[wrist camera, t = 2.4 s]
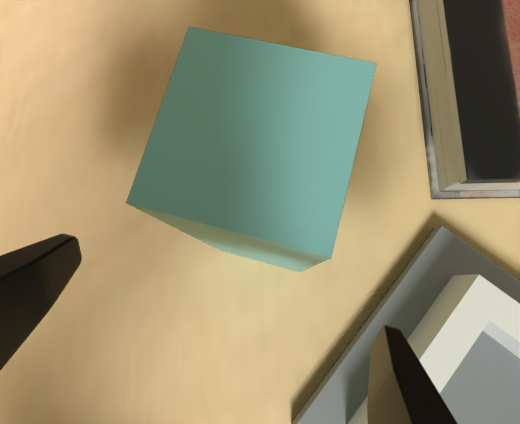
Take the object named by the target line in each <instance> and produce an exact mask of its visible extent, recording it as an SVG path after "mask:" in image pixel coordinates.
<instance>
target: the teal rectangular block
mask: <svg viewBox="0 0 520 424" xmlns="http://www.w3.org/2000/svg"><path fill="white" fill-rule="evenodd" d="M375 68H376V63H371V62H366V61H361V60H356V59H351V58H346V57H341V56H336V55H331V54H326V53H321V52H316V51H311V50H306V49H300V48H295V47H290V46H285V45H280V44H275V43H270V42H265V41H260V40H255V39H250V38H245V37H240V36H235V35H230V34H225V33H220V32H215V31H210V30H205V29H200V28H194V27H189V28H188V31H187V34H186V36H185V39H184V42H183V45H182V48H181V50H180V53H179V56H178V59H177V62H176V64H175V67H174V70H173V73H172V76H171V78H170V81H169V84H168V87H167V90H166V92H165V95H164V98H163V101H162V104H161V106H160V109H159V112H158V115H157V118H156V121H155V123H154V126H153V129H152V132H151V135H150V137H149V140H148V143H147V146H146V149H145V151H144V154H143V157H142V160H141V163H140V165H139V168H138V171H137V174H136V177H135V179H134V182H133V185H132V188H131V191H130V193H129V196H128V199H127V202H126V203H127V204H129V205H131V206H133V207H135V208H137V209H139V210H141V211H143V212H145V213H147V214H149V215H151V216H153V217H155V218H157V219H159V220H161V221H163V222H165V223H167V224H169V225H171V226H173V227H175V228H177V229H179V230H181V231H183V232H185V233H187V234H189V235H191V236H193V237H195V238H197V239H199V240H201V241H203V242H205V243H207V244H209V245H211V246H213V247H215V248H217V249H219V250H221V251H224V252H228V253H231V254H235V255H239V256H242V257H246V258H250V259H253V260H257V261H261V262H264V263H268V264H272V265H275V266H279V267H283V268H286V269H290V270H293V271H297V272H301V271H303V270H305V269H308V268H310V267H312V266H314V265H316V264H319V263H321V262H323V261H325V260H327V259H330V258H331V257H332V253H333V248H334V244H335V240H336V235H337V231H338V227H339V223H340V218H341V214H342V210H343V205H344V201H345V197H346V192H347V188H348V184H349V180H350V175H351V171H352V167H353V162H354V158H355V154H356V150H357V145H358V141H359V137H360V132H361V128H362V124H363V119H364V115H365V111H366V107H367V102H368V98H369V94H370V89H371V85H372V81H373V76H374V72H375Z"/></svg>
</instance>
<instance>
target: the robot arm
mask: <svg viewBox="0 0 520 424" xmlns="http://www.w3.org/2000/svg"><path fill="white" fill-rule="evenodd" d="M81 260H82V256H81V251H80V247H79V242H78V239H77V238H76V237H74V236H71V235H67V234H59V235H56V236H54V237H51V238H48V239H45V240H43V241H40V242H37V243H34V244H32V245H29V246H26V247H23V248H20V249H18V250H15V251H12V252H9V253H7V254H4V255H1V256H0V370H1V369H2V368H3V367H4V365H5V364H6V363H7V362H8V361H9V359H10V358H11V357H12V356H13V354H14V353H15V352H16V351H17V350H18V348H19V347H20V346H21V345H22V343H23V342H24V341H25V340H26V338H27V337H28V336H29V335H30V334H31V332H32V331H33V330H34V329H35V327H36V326H37V325H38V324H39V322H40V321H41V320H42V319H43V318H44V316H45V315H46V314H47V312H48V311H49V310H50V309H51V307H52V306H53V304H54V303H55V302H56V300H57V299H58V297H59V296H60V294H61V292H62V291H63V289H64V288H65V286H66V285H67V283H68V282H69V280H70V279H71V277H72V276H73V274H74V273H75V271H76V270H77V268H78V267H79V265H80V263H81ZM367 421H368V424H458V423H457V421H456V420H455V418H454V417H453V415H452V413H451V412H450V410H449V408H448V407H447V405H446V403H445V402H444V400H443V398H442V397H441V395H440V394H439V392H438V390H437V389H436V387H435V385H434V384H433V382H432V380H431V379H430V377H429V375H428V374H427V372H426V371H425V369H424V367H423V366H422V364H421V362H420V361H419V359H418V357H417V356H416V354H415V352H414V351H413V349H412V348H411V346H410V344H409V343H408V341H407V339H406V338H405V336H404V334H403V333H402V331H401V330H400V329H399V328H396V327H393V326H389V325H383V326H382V327H381V329H380V331H379V333H378V334H377V336H376V338H375V340H374V341H373V344H372V348H371V359H370V372H369V386H368V401H367Z"/></svg>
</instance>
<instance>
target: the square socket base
mask: <svg viewBox="0 0 520 424" xmlns="http://www.w3.org/2000/svg"><path fill="white" fill-rule="evenodd" d="M383 325H389V326H393V327H396V328H399V329H400V330H401V331H402V333H403V334H404V336H405V338H406V339H407V341H408V343H409V344H410V346H411V348H412V349H413V351H414V352H415V354H416V356H417V357H418V359H419V361H420V362H421V364H422V366H423V367H424V369H425V371H426V372H427V374H428V375H429V377H430V379H431V380H432V382H433V384H434V385H435V387H436V389H437V390H438V392H439V394H440V395H441V397H442V398H443V400H444V402H445V403H446V405H447V407H448V408H449V410H450V412H451V413H452V415H453V417H454V418H455V420H456V421H457V423H458V424H520V280H518V279H517V278H515V277H514V276H513V275H511V274H510V273H508V272H507V271H506V270H504V269H503V268H501V267H500V266H499V265H497V264H496V263H494V262H493V261H491V260H490V259H489V258H487V257H486V256H484V255H483V254H482V253H480V252H479V251H477V250H476V249H475V248H473V247H472V246H470V245H469V244H468V243H466V242H465V241H463V240H462V239H460V238H459V237H458V236H456V235H455V234H453V233H452V232H451V231H449V230H448V229H446V228H445V227H444V226H439V227H437V228H434V229H433V231H432V232H431V233H430V235H429V236H428V238H427V239H426V240H425V242H424V243H423V244H422V246H421V247H420V248H419V250H418V251H417V253H416V254H415V255H414V257H413V258H412V259H411V261H410V262H409V263H408V265H407V266H406V268H405V269H404V270H403V272H402V273H401V274H400V276H399V277H398V278H397V280H396V281H395V282H394V284H393V285H392V287H391V288H390V289H389V291H388V292H387V293H386V295H385V296H384V297H383V299H382V300H381V302H380V303H379V304H378V306H377V307H376V308H375V310H374V311H373V312H372V314H371V315H370V316H369V318H368V319H367V321H366V322H365V323H364V325H363V326H362V327H361V329H360V330H359V331H358V333H357V334H356V336H355V337H354V338H353V340H352V341H351V342H350V344H349V345H348V346H347V348H346V349H345V351H344V352H343V353H342V355H341V356H340V357H339V359H338V360H337V361H336V363H335V364H334V365H333V367H332V368H331V370H330V371H329V372H328V374H327V375H326V376H325V378H324V379H323V380H322V382H321V383H320V385H319V386H318V387H317V389H316V390H315V391H314V393H313V394H312V395H311V397H310V398H309V399H308V401H307V402H306V404H305V405H304V406H303V408H302V409H301V410H300V412H299V413H298V414H297V416H296V417H295V419H294V420H293V421H292V423H291V424H368V421H367V401H368V386H369V372H370V359H371V348H372V344H373V341H374V340H375V338H376V336H377V334H378V333H379V331H380V329H381V327H382V326H383Z"/></svg>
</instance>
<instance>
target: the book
mask: <svg viewBox="0 0 520 424" xmlns="http://www.w3.org/2000/svg"><path fill="white" fill-rule="evenodd" d="M409 2H410V11H411V20H412V29H413V39H414V48H415V57H416V66H417V75H418V84H419V93H420V102H421V111H422V120H423V129H424V138H425V147H426V156H427V165H428V174H429V184H430V193H431V199H473V198H520V0H409Z"/></svg>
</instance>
